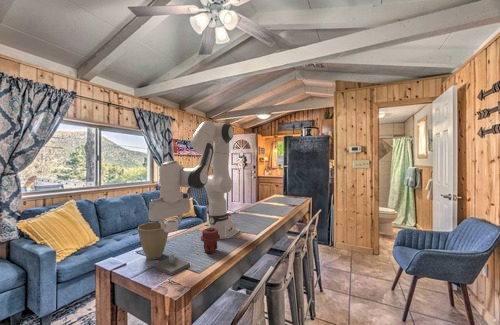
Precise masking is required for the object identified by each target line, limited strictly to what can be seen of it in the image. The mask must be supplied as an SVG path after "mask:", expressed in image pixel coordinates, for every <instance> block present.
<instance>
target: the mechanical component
mask: <svg viewBox="0 0 500 325" xmlns="http://www.w3.org/2000/svg"><path fill="white" fill-rule="evenodd" d="M208 227H209V226H208ZM208 227H206V228H205V229H203V230H202V232H201V233H202V235H201V236H200V241H201V242H202V243H203V249H204V253H205V254H208V253H212V254H214V253H216V252H217V249H218V242H219V240H221V239H220V235H219V234H218V229H216V228H213V227H209V228H208Z"/></svg>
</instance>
